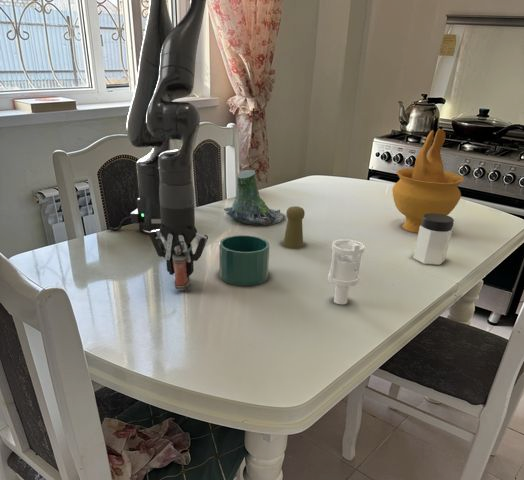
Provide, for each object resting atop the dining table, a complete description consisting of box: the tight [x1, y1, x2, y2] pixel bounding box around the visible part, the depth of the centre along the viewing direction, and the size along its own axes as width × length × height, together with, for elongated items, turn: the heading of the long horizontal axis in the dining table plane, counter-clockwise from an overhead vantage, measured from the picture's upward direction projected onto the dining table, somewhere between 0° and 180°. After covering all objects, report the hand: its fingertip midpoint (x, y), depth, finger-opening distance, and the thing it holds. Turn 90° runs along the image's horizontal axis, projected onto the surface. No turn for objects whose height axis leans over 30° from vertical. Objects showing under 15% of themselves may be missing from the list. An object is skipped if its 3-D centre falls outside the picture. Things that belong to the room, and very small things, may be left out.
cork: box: [282, 205, 306, 249], centre depth 145 cm, size 6×6×11 cm
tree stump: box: [223, 169, 284, 226], centre depth 164 cm, size 18×20×18 cm
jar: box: [412, 213, 455, 266], centre depth 139 cm, size 9×8×12 cm
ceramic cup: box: [218, 234, 270, 287], centre depth 125 cm, size 12×12×8 cm
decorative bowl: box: [391, 128, 465, 234], centre depth 158 cm, size 21×21×30 cm
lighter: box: [172, 245, 190, 291], centre depth 118 cm, size 8×3×10 cm, turn 2°
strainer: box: [327, 238, 365, 305], centre depth 113 cm, size 7×7×15 cm
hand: (180, 274), depth 120 cm, fingers closed on lighter, 3 cm apart
